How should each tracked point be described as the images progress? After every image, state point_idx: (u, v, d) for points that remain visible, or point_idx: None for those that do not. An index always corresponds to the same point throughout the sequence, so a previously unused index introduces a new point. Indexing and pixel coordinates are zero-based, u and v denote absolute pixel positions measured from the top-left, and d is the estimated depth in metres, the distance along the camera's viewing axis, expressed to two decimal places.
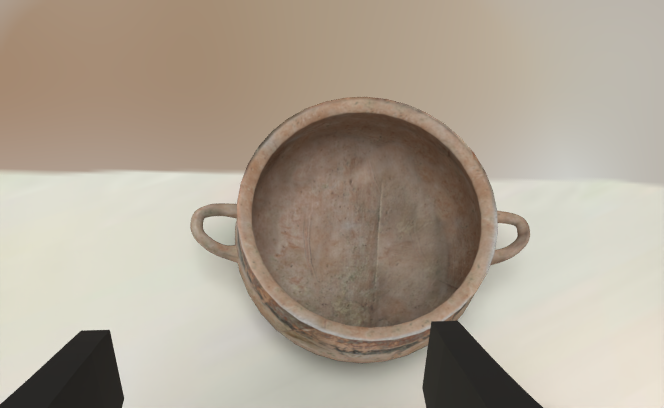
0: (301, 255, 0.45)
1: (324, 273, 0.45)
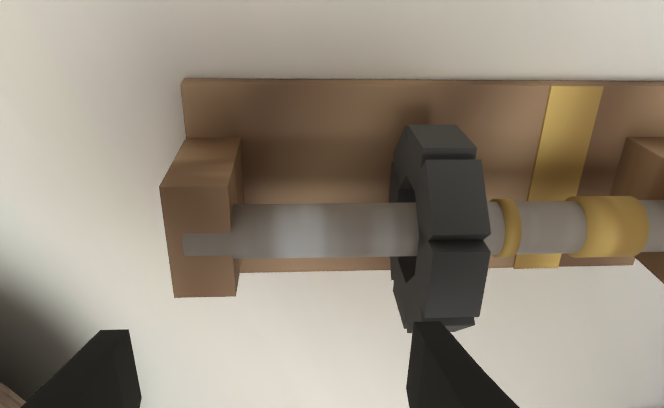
0: None
1: None
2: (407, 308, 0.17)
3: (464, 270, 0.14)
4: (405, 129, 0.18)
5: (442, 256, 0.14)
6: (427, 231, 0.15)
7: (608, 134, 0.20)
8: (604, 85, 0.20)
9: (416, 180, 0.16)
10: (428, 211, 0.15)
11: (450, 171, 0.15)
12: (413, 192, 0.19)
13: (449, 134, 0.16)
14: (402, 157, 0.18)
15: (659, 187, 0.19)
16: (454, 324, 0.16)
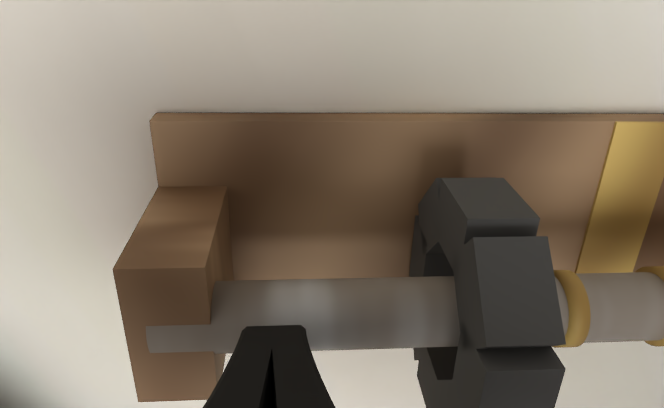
0: None
1: None
2: None
3: (527, 391, 0.11)
4: (437, 182, 0.14)
5: (498, 374, 0.10)
6: (475, 336, 0.11)
7: None
8: None
9: (456, 257, 0.12)
10: (477, 310, 0.11)
11: (506, 253, 0.11)
12: (444, 257, 0.15)
13: (499, 195, 0.12)
14: (432, 216, 0.14)
15: None
16: None
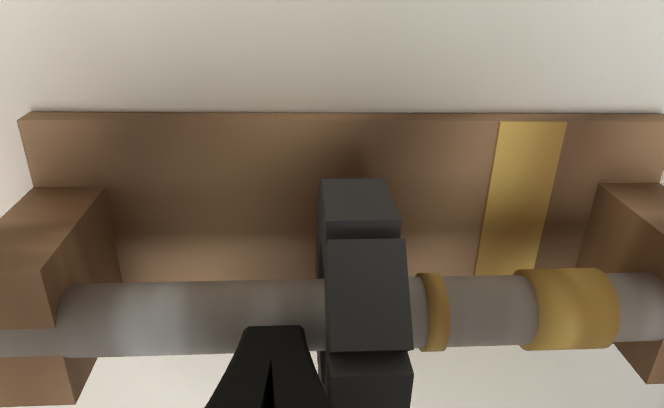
0: None
1: None
2: None
3: (378, 397, 0.10)
4: (321, 183, 0.13)
5: (345, 380, 0.10)
6: (328, 340, 0.11)
7: (575, 180, 0.16)
8: (568, 120, 0.15)
9: (324, 259, 0.12)
10: (328, 314, 0.10)
11: (361, 256, 0.11)
12: None
13: (371, 196, 0.12)
14: (319, 218, 0.14)
15: (637, 253, 0.15)
16: None
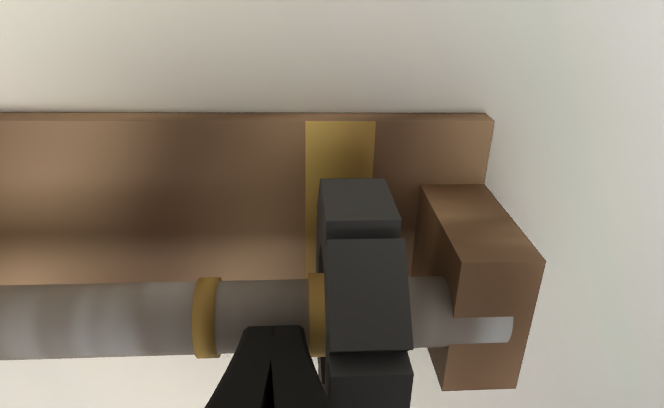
0: None
1: None
2: None
3: (378, 397, 0.10)
4: (321, 183, 0.13)
5: (345, 380, 0.10)
6: (328, 340, 0.11)
7: (395, 181, 0.16)
8: (379, 120, 0.15)
9: (324, 259, 0.12)
10: (328, 314, 0.10)
11: (360, 256, 0.11)
12: None
13: (370, 196, 0.12)
14: (319, 218, 0.14)
15: (437, 257, 0.14)
16: None
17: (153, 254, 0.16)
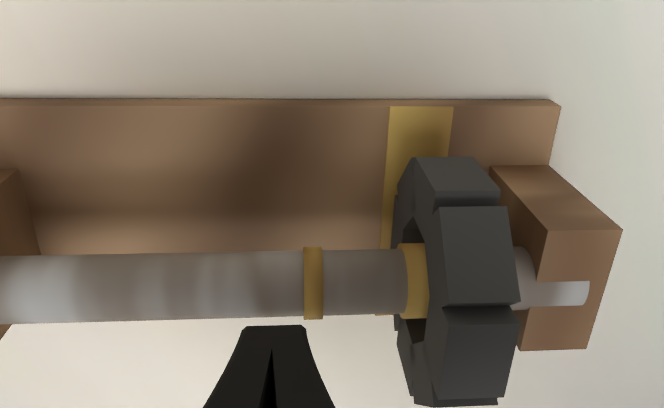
0: None
1: None
2: (414, 374, 0.15)
3: (487, 345, 0.12)
4: (412, 161, 0.15)
5: (460, 329, 0.11)
6: (441, 296, 0.12)
7: None
8: (456, 105, 0.16)
9: (426, 227, 0.13)
10: (443, 272, 0.12)
11: (469, 221, 0.12)
12: (420, 232, 0.16)
13: (465, 171, 0.13)
14: (408, 194, 0.15)
15: (513, 229, 0.16)
16: (473, 404, 0.13)
17: (241, 231, 0.18)
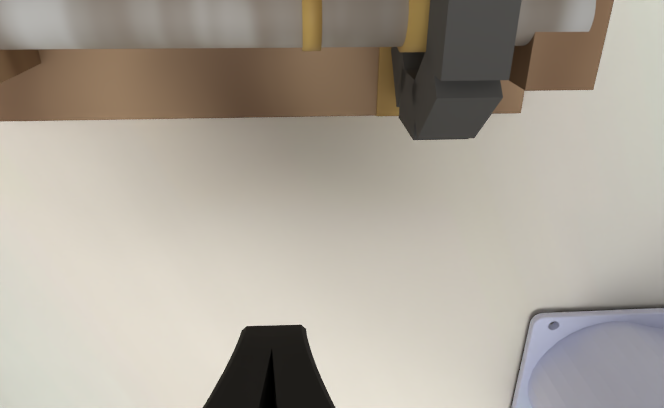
0: None
1: None
2: (417, 108, 0.14)
3: (491, 5, 0.11)
4: None
5: None
6: None
7: None
8: None
9: None
10: None
11: None
12: None
13: None
14: None
15: None
16: (477, 97, 0.12)
17: None
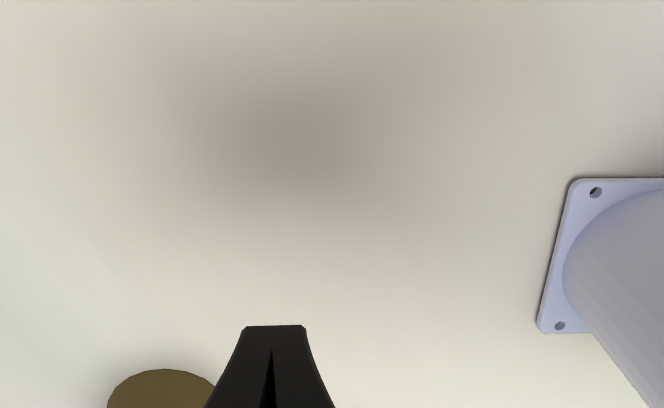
0: None
1: None
2: None
3: None
4: None
5: None
6: None
7: None
8: None
9: None
10: None
11: None
12: None
13: None
14: None
15: None
16: None
17: None
